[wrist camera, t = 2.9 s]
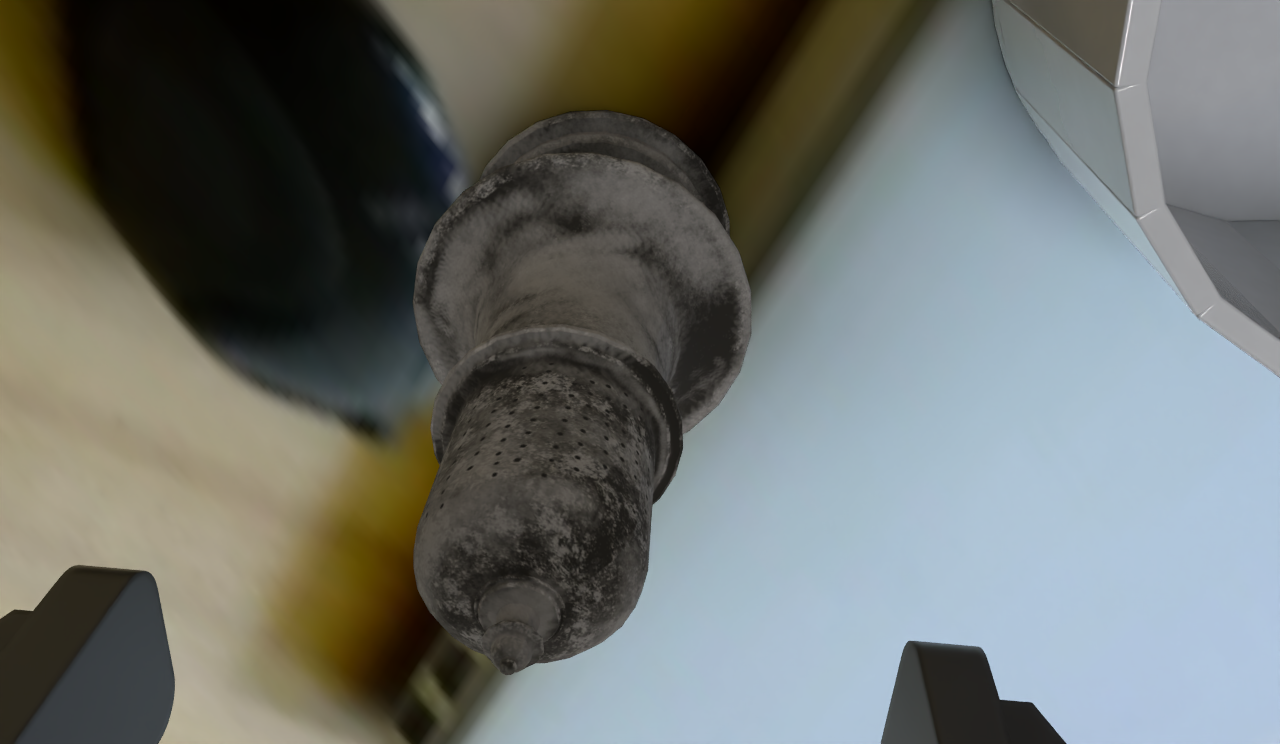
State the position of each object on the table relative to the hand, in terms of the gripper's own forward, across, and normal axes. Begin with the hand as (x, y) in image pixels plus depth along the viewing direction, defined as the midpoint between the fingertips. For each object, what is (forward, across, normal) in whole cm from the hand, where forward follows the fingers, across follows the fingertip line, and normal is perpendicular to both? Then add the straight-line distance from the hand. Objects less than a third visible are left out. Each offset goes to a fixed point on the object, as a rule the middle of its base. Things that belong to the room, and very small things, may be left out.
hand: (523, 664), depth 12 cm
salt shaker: (+12, 0, 0) cm, 12 cm away
